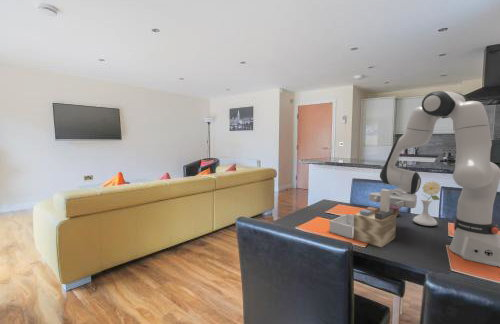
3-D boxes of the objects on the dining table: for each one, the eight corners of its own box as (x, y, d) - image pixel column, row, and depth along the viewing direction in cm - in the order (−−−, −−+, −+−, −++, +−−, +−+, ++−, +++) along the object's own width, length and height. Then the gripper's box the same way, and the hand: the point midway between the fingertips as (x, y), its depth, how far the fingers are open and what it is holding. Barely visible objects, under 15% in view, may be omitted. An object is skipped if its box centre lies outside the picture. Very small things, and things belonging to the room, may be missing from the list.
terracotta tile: (378, 211, 127) (378, 208, 126) (374, 213, 124) (374, 209, 124) (369, 209, 130) (370, 206, 129) (366, 211, 127) (366, 208, 127)
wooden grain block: (395, 238, 124) (396, 214, 123) (381, 247, 113) (382, 221, 112) (368, 230, 133) (369, 208, 132) (353, 238, 123) (354, 214, 122)
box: (368, 230, 134) (368, 219, 134) (351, 238, 123) (352, 226, 122) (347, 224, 143) (347, 213, 143) (329, 232, 132) (329, 220, 131)
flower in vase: (407, 222, 147) (410, 179, 145) (422, 220, 151) (425, 178, 148) (429, 229, 135) (433, 183, 133) (445, 227, 139) (448, 182, 136)
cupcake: (386, 216, 158) (387, 200, 157) (383, 212, 166) (384, 197, 165) (402, 217, 155) (403, 201, 154) (399, 213, 163) (400, 198, 162)
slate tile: (371, 214, 122) (372, 211, 122) (368, 216, 119) (368, 212, 119) (363, 212, 125) (363, 209, 125) (359, 214, 122) (359, 210, 122)
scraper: (393, 214, 122) (394, 188, 121) (381, 219, 114) (383, 192, 113) (386, 212, 125) (387, 187, 123) (374, 218, 116) (376, 191, 115)
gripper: (375, 188, 136) (363, 192, 127) (420, 194, 120) (410, 199, 111) (375, 200, 136) (363, 204, 127) (419, 208, 121) (409, 213, 112)
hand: (385, 202), depth 119 cm, fingers open, 8 cm apart
